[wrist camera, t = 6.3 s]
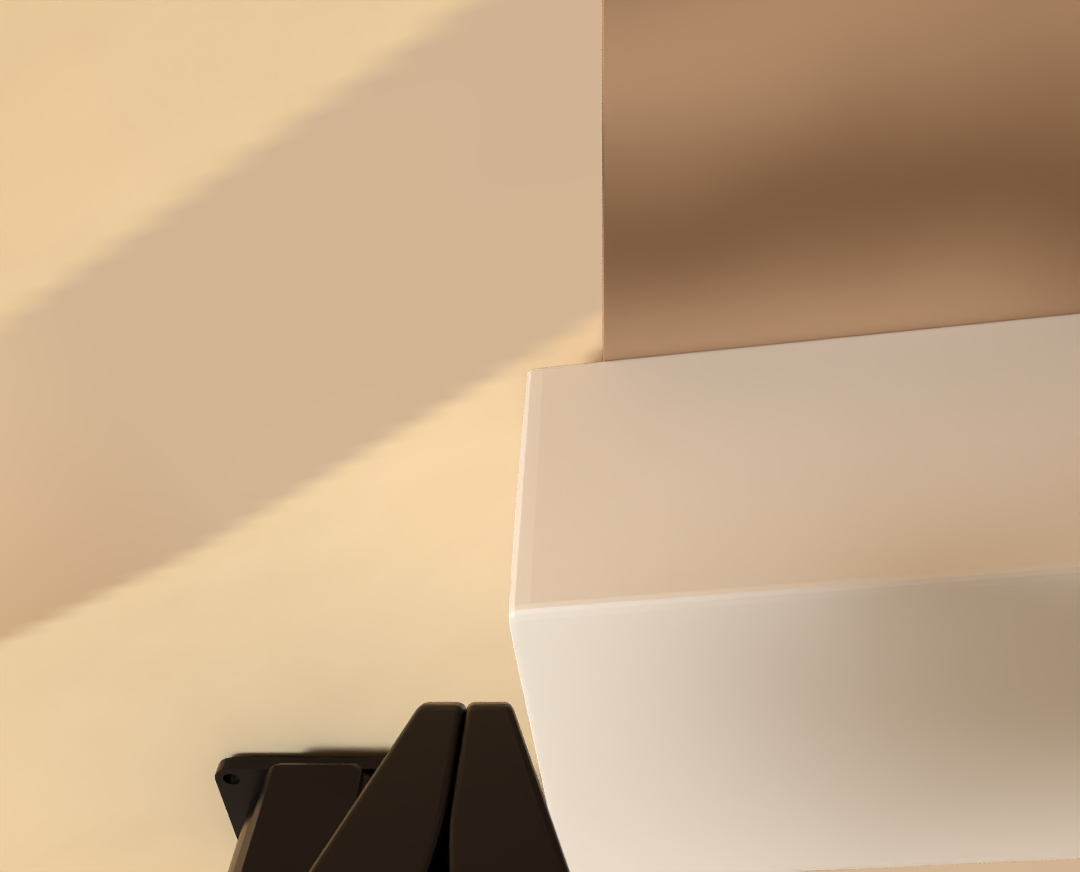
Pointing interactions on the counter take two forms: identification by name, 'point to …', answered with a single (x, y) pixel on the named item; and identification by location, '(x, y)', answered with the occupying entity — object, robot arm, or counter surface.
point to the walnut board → (835, 168)
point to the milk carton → (806, 602)
